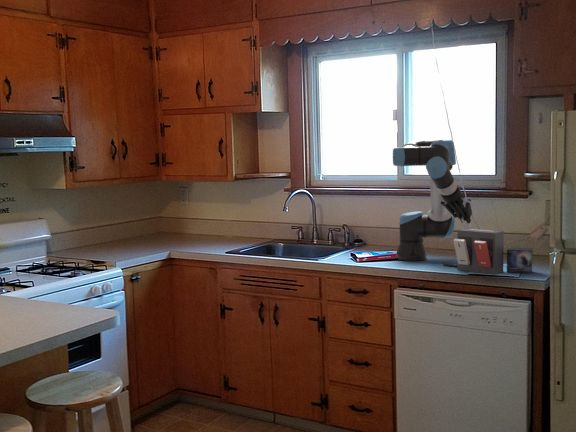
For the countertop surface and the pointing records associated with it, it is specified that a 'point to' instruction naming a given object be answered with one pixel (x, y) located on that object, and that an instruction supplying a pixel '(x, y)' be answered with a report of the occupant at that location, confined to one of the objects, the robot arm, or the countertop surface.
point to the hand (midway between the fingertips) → (469, 226)
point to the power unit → (494, 249)
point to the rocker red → (482, 253)
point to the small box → (519, 260)
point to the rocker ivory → (461, 251)
